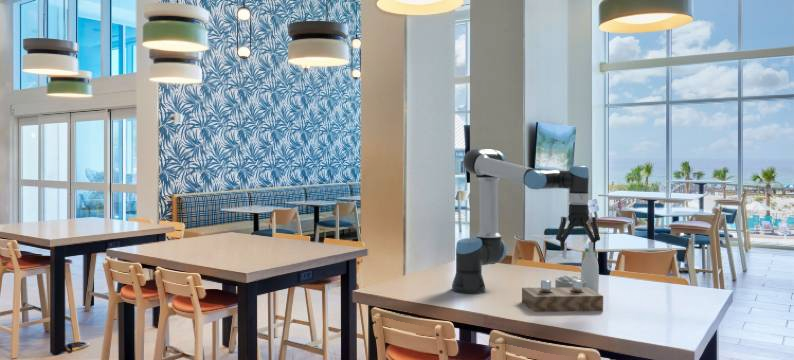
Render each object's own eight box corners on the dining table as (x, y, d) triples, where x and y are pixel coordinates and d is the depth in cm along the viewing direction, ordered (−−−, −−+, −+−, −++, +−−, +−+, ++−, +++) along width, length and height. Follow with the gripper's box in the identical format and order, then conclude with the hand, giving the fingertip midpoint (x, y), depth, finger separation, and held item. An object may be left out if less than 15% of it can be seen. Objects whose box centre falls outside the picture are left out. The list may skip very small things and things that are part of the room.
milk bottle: (599, 293, 257) (600, 249, 256) (581, 293, 258) (582, 248, 258) (597, 290, 264) (598, 247, 264) (579, 289, 266) (580, 246, 265)
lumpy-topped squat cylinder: (576, 301, 243) (576, 281, 243) (549, 295, 253) (550, 276, 252) (589, 297, 250) (589, 278, 250) (562, 292, 260) (563, 273, 259)
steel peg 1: (542, 296, 231) (542, 281, 231) (539, 294, 235) (539, 279, 235) (552, 296, 231) (552, 281, 231) (548, 293, 235) (549, 279, 235)
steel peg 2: (574, 295, 232) (574, 281, 232) (570, 293, 236) (570, 279, 236) (583, 295, 232) (583, 281, 232) (579, 293, 236) (579, 279, 236)
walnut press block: (533, 311, 225) (534, 296, 225) (521, 301, 241) (522, 287, 240) (602, 311, 227) (603, 295, 227) (586, 301, 243) (586, 287, 243)
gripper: (554, 204, 228) (553, 259, 229) (609, 204, 230) (608, 259, 231) (547, 203, 236) (547, 256, 237) (601, 203, 238) (600, 256, 238)
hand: (577, 257), depth 234 cm, fingers open, 10 cm apart
